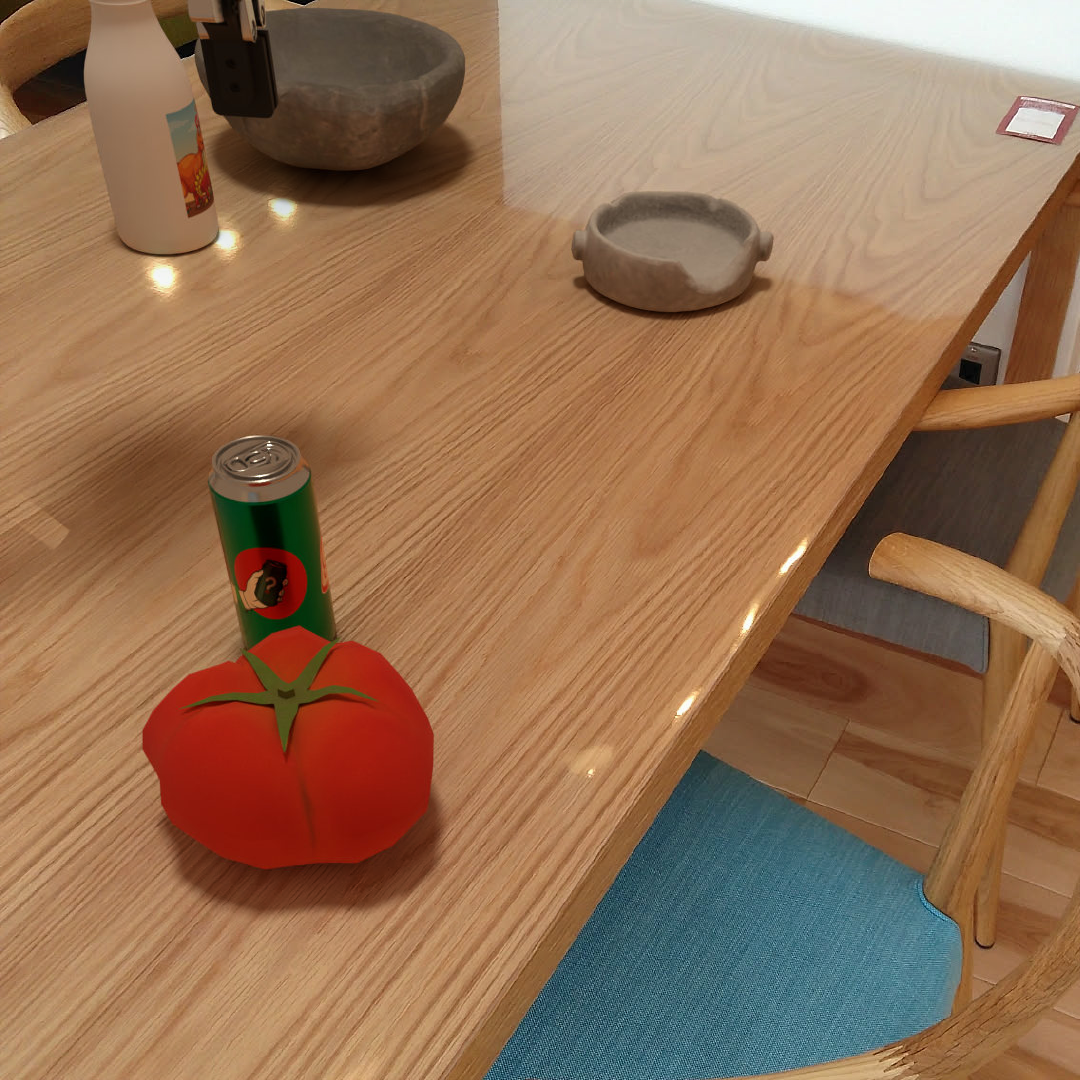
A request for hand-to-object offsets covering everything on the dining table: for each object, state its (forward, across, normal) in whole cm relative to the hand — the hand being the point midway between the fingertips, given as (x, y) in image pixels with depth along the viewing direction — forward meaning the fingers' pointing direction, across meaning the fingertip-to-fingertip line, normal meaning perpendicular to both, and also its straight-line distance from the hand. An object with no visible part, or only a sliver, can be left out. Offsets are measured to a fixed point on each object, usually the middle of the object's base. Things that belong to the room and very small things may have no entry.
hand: (246, 110), depth 75 cm
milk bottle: (+22, -31, -16) cm, 41 cm away
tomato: (+22, +31, +6) cm, 39 cm away
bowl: (+22, -49, -5) cm, 54 cm away
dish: (+22, -28, +24) cm, 43 cm away
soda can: (+22, +18, +3) cm, 29 cm away
